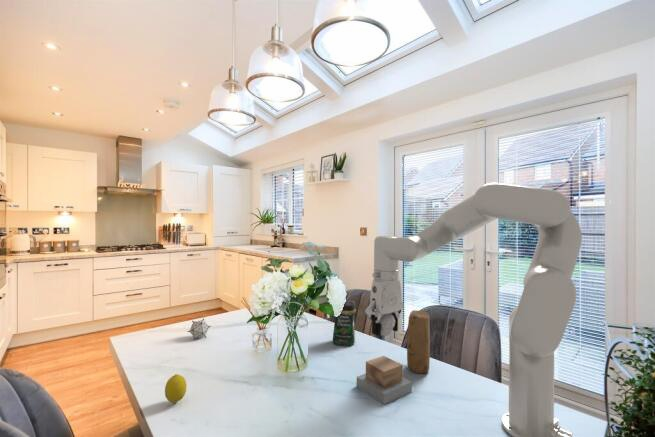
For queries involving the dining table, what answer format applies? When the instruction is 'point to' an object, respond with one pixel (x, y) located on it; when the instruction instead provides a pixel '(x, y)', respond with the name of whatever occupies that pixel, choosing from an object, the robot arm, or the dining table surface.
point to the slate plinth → (381, 393)
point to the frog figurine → (387, 324)
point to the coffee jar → (345, 325)
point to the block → (418, 342)
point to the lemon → (175, 388)
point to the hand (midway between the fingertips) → (384, 331)
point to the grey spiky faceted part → (199, 329)
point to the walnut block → (384, 371)
